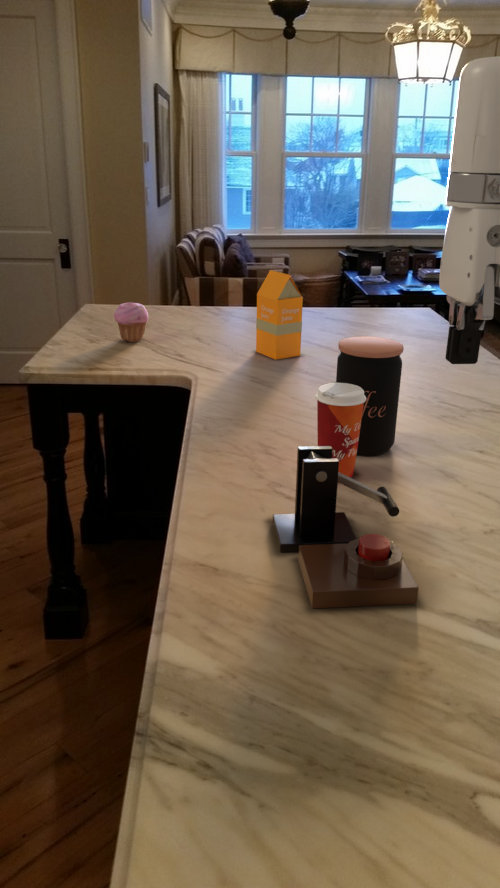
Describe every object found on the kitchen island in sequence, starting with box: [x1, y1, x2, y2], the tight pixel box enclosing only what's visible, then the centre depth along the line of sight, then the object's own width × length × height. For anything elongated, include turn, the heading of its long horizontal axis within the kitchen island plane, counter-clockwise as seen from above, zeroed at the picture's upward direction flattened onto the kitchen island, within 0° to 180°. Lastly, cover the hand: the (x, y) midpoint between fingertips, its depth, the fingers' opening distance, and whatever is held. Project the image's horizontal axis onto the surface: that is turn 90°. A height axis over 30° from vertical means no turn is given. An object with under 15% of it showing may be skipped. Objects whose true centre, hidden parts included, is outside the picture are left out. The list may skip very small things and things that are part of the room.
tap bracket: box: [272, 445, 357, 553], centre depth 91 cm, size 10×8×12 cm
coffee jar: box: [335, 335, 404, 457], centre depth 119 cm, size 11×11×18 cm
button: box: [358, 533, 391, 561], centre depth 82 cm, size 4×4×2 cm
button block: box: [297, 537, 420, 609], centre depth 83 cm, size 12×10×4 cm
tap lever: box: [307, 451, 400, 518], centre depth 91 cm, size 13×6×2 cm, turn 96°
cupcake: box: [113, 301, 149, 343], centre depth 185 cm, size 9×9×10 cm
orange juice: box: [255, 269, 304, 361], centre depth 173 cm, size 8×9×20 cm
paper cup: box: [314, 382, 366, 478], centre depth 109 cm, size 8×8×14 cm
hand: (461, 361), depth 81 cm, fingers closed
